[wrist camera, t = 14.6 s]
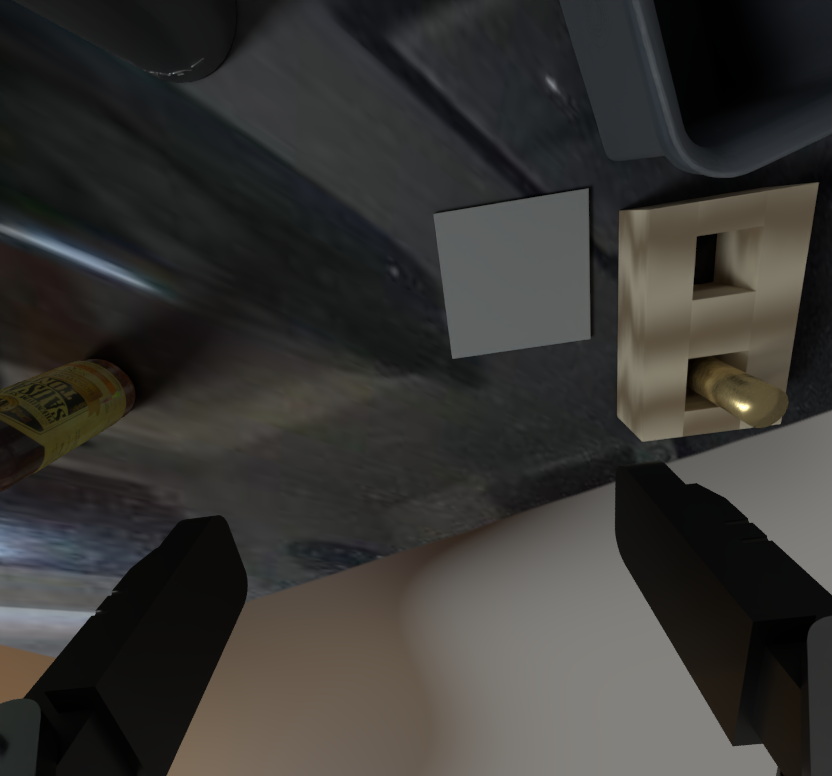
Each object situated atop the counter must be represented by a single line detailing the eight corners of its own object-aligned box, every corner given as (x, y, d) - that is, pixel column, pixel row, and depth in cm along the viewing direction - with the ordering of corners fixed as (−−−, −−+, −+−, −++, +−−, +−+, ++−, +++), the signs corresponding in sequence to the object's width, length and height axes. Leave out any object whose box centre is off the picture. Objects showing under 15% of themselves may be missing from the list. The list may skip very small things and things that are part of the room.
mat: (433, 214, 35) (433, 214, 34) (586, 188, 34) (588, 188, 34) (452, 357, 39) (452, 358, 39) (588, 337, 38) (590, 338, 38)
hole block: (619, 210, 35) (650, 209, 30) (764, 187, 34) (818, 182, 29) (617, 416, 41) (642, 441, 36) (739, 400, 40) (780, 423, 36)
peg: (666, 348, 39) (744, 390, 29) (701, 343, 39) (791, 384, 29) (664, 380, 40) (739, 430, 30) (698, 375, 40) (784, 424, 30)
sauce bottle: (143, 368, 40) (-98, 498, 21) (135, 426, 42) (-91, 592, 23) (69, 344, 39) (-249, 457, 20) (64, 404, 41) (-228, 557, 23)
